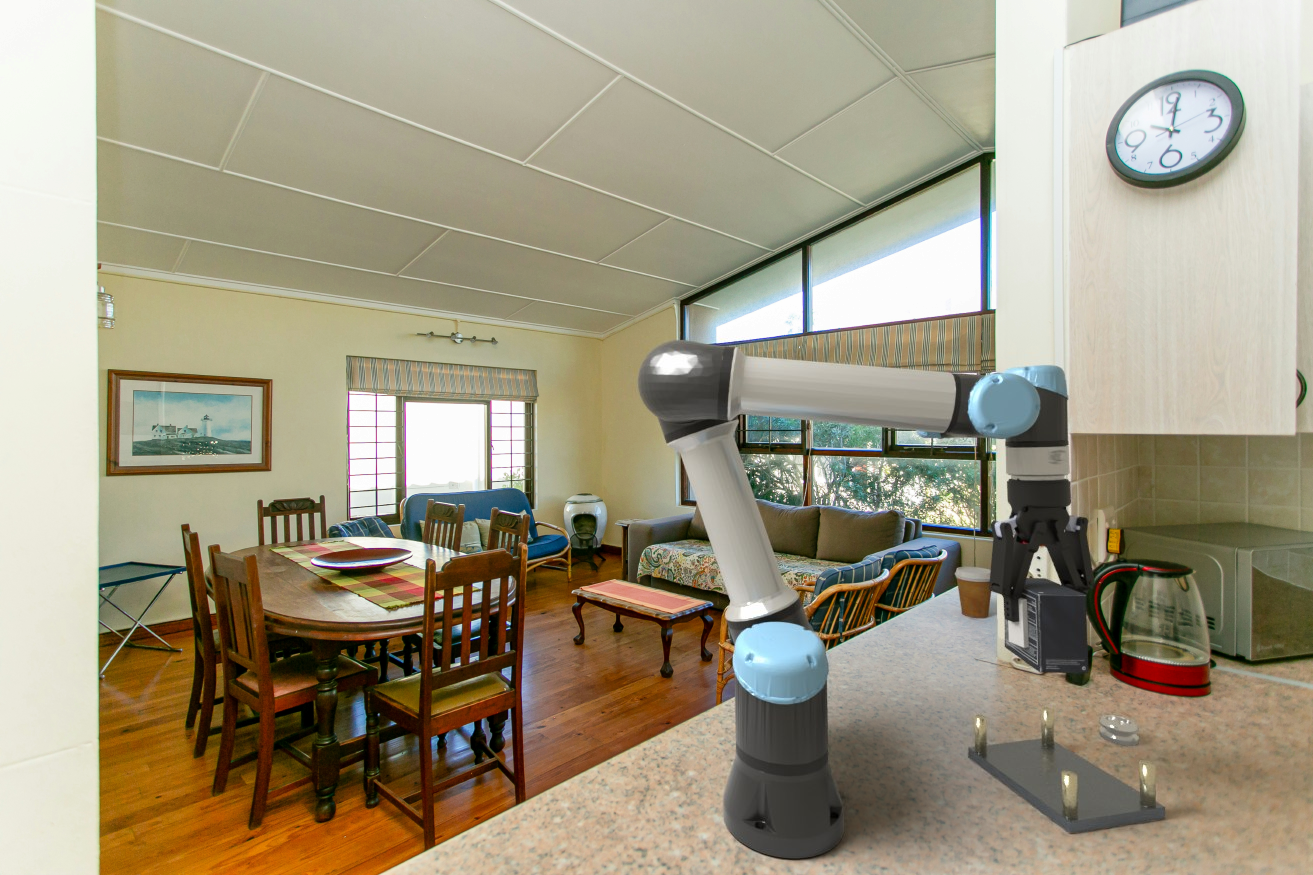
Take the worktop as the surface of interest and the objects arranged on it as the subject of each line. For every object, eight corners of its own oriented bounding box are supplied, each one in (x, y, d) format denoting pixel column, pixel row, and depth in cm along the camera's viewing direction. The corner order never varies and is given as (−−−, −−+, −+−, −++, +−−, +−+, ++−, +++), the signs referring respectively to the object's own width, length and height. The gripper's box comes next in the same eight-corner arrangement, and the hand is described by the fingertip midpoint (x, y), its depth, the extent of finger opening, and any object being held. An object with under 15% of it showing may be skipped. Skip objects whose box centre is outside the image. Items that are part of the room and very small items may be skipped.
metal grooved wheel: (1093, 737, 97) (1131, 750, 93) (1093, 718, 97) (1131, 730, 93) (1106, 728, 100) (1143, 740, 95) (1106, 710, 100) (1143, 721, 95)
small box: (1093, 674, 78) (1090, 594, 78) (1040, 674, 79) (1036, 594, 79) (1049, 647, 89) (1046, 575, 89) (1002, 647, 90) (1000, 576, 90)
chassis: (1070, 833, 74) (1069, 780, 74) (968, 757, 91) (967, 714, 91) (1165, 818, 76) (1164, 767, 76) (1048, 746, 94) (1047, 705, 94)
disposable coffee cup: (1002, 616, 161) (1002, 571, 161) (981, 622, 156) (980, 575, 156) (968, 607, 169) (968, 564, 169) (947, 613, 164) (947, 569, 164)
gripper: (993, 482, 79) (1000, 658, 79) (1124, 475, 82) (1131, 642, 82) (954, 479, 86) (960, 639, 86) (1076, 472, 90) (1082, 626, 90)
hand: (1044, 640), depth 84 cm, fingers closed on small box, 7 cm apart
